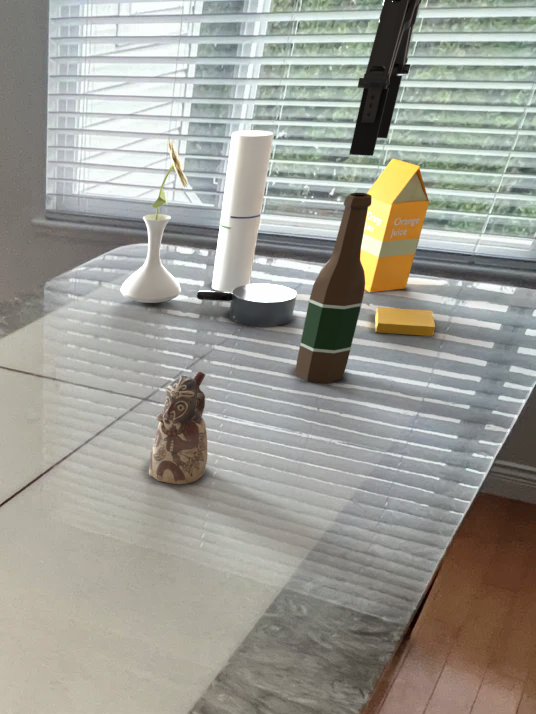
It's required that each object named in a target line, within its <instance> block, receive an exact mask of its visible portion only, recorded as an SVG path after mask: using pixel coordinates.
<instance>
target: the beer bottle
mask: <svg viewBox="0 0 536 714" xmlns="http://www.w3.org/2000/svg"><path fill="white" fill-rule="evenodd" d="M371 203H372V197H371V195H369V194H367V192H366V193H365V192H351V193H348V194H347V195H346V197H345V199H344V201H343V206H344V210H343V213H342V217H341V221H340V223H339V229H338V232H337V236H336V239H335V243H334V247H333V250H332V253H331V255H330V258H329V259H328V261H327V262H326V263H325V264H324V265H323V267H321V269H320V270H319V273H318V275H317V277H316V278H315V281H314V283H313V285H312V289H311V292H310V296H309V300H308V305H307V310H306V315H305V320H304V325H303V330H302V334H301V339H300V344H299V350H298V354H297V359H296V365H295V371H294V373H295V376H296V377H298V378H300V379H302V380H304V381H306V382H310V383H320V384H329V383H334V382H339V381H341V380H343V379H344V375H345V373H346V372H345V371H346V368H347V365H348V361H349V357H350V354H351V350H352V345H353V341H354V336H355V333H356V328H357V326H358V320H359V315H360V312H361V308H362V304H363V300H364V294H365V284H366V283H365V272H364V269H363V266H362V264H361V261H360V255H361V245H362V239H363V234H364V228H365V223H366V217H367V211H368V207H369V206H370V205H371Z"/></svg>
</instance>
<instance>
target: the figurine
mask: <svg viewBox="0 0 536 714" xmlns="http://www.w3.org/2000/svg"><path fill="white" fill-rule="evenodd" d="M205 377H206V374H205V373H204V372H202V371H201V370H200V371H197V372H196V373H195V375H194V376H193V377H191V376H189V375H180V376H178V377H176V378H175V379H174V380H173V382H171V383H170V384H169V385H168V386H167V387H166V388H165V394H166V395H165V400H164V404H163V409H162V412H161V413H159V414H157V416H156V420H157V421H158V422H159V423H158V426H157V429H156V432H155V436H154V437H155V438H154V441H153V445H152V448H151V451H150V456H149V469H148V474H149V476H150V477H152V478H154V479H155V480H156V481H158V482H162V483H163V482H164V483H167V484H173V485H186V484H190V483H194V482H196V481H198V480H199V479H200V478H201V477H203V475H204V474H205V471H206V467H207V466H206V465H207V462H208V433H207V425H206V422H205V419H204V418H203V413H204V410H205V406H206V395H205V393H204V392H203V391H202V389H201V384H202V382H203V380H204V379H205Z"/></svg>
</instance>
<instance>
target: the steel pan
mask: <svg viewBox="0 0 536 714" xmlns="http://www.w3.org/2000/svg"><path fill="white" fill-rule="evenodd" d="M297 294H298V293H297V291H296V290H295V289H292V288H290V287H287V286H284V285H280V284H279V285H278V284H272V283H250V285H244V286H240V287H237V288H235V289H234V290H233V292H232V293H231V292H221V291H211V290H199V291H197V293H196V298H197V299H198V300H201V301H216V302H217V301H218V302H230V305H229V306H230V307H229V313H228V317H229V319H230V320H231V321H233V322H235V323H237V324H239V325H240V324H241V325H245V326H251V327H259V328H260V327H263V328H265V327H278V326H282V325H286V324H288V323H290V322H291V321H292V319H293V316H294V310H295V306H296V299H297Z"/></svg>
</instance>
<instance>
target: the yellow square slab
mask: <svg viewBox="0 0 536 714" xmlns="http://www.w3.org/2000/svg"><path fill="white" fill-rule="evenodd" d="M374 315H375V316H374V321H375V333H381V334H394V335H408V336H409V335H410V336H422V337H423V336H425V337H433V336H434V333H435V329H436V324H435V319H434V313H433V310H431V309H416V308H415V309H414V308H398V307H384V306H383V307H382V306H381V307H380V306H377V308H376V311H375V314H374Z"/></svg>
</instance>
